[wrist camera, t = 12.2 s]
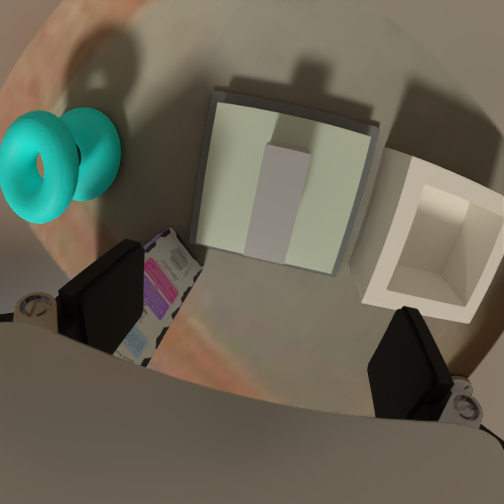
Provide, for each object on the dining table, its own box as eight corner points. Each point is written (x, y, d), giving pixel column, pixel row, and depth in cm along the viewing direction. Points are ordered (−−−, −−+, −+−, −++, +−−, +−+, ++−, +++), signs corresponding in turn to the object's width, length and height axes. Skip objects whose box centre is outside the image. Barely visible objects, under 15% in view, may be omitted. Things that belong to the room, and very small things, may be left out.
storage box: (482, 186, 24) (521, 205, 18) (443, 287, 29) (469, 323, 23) (384, 146, 25) (412, 156, 18) (348, 264, 30) (361, 302, 23)
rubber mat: (378, 127, 24) (379, 128, 24) (334, 275, 30) (335, 277, 30) (213, 90, 25) (212, 90, 24) (190, 241, 31) (188, 243, 31)
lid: (365, 135, 24) (389, 141, 18) (328, 263, 29) (337, 304, 23) (223, 103, 25) (199, 98, 18) (202, 234, 30) (177, 267, 23)
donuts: (-5, 217, 22) (-6, 113, 17) (55, 189, 31) (60, 106, 26) (64, 239, 21) (67, 111, 17) (122, 203, 30) (132, 109, 26)
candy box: (171, 223, 30) (76, 317, 16) (205, 268, 32) (141, 386, 17) (95, 280, 35) (14, 365, 20) (125, 316, 37) (57, 410, 22)
